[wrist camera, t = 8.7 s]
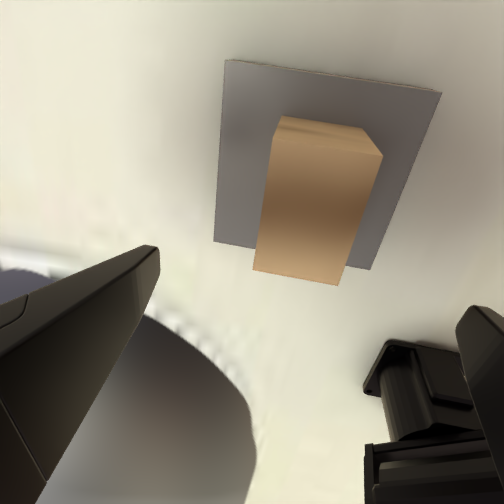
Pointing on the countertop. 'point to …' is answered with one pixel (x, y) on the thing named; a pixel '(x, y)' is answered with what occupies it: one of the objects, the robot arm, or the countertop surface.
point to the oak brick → (314, 198)
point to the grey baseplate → (317, 109)
